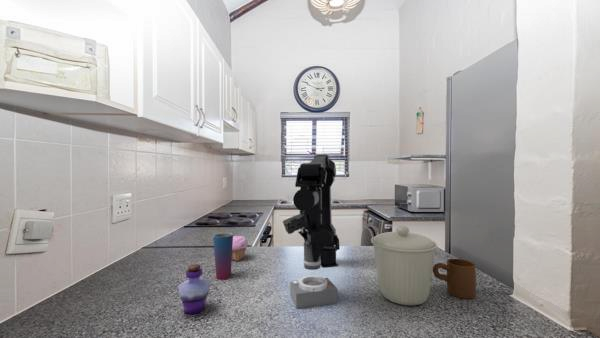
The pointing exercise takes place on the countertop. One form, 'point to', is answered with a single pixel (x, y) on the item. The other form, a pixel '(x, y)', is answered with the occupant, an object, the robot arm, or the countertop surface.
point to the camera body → (312, 291)
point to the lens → (310, 258)
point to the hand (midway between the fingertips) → (312, 259)
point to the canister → (404, 265)
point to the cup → (223, 254)
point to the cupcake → (238, 247)
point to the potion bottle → (194, 290)
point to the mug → (458, 277)
